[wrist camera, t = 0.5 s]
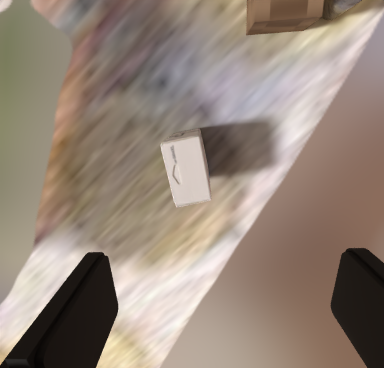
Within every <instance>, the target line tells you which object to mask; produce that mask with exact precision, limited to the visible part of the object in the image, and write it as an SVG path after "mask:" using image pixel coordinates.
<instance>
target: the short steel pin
mask: <svg viewBox="0 0 384 368" xmlns="http://www.w3.org/2000/svg"><path fill="white" fill-rule="evenodd" d="M360 1H362V0H324V4H323V12H322V17H323V18H324V19H325V20H333V19H335V18H336V17H338V16H339V15H341V14H342V13H344V12H345V11H347V10H348V9H350V8H351V7H353V6H354V5H356V4H357V3H359V2H360Z"/></svg>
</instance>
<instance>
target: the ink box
mask: <svg viewBox="0 0 384 368" xmlns="http://www.w3.org/2000/svg"><path fill="white" fill-rule="evenodd" d="M161 151H162V154H163V158H164V162H165V166H166V170H167V175H168V179H169V183H170V187H171V191H172V195H173V200H174V203H175V204H176V207H182V206H187V205H192V204H197V203H202V202H206V201H210V200H211V190H210V175H209V168H208V163H207V159H206V154H205V149H204V144H203V139H202V135H201V130H200V128H197V129H193V130H188V131H183V132H179V133H174V134H173V135H171V136H170V137H169V138H167V139H166V140H165V141H163V142H162V143H161Z"/></svg>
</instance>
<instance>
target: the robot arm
mask: <svg viewBox="0 0 384 368" xmlns="http://www.w3.org/2000/svg"><path fill="white" fill-rule="evenodd" d="M331 310H332V313H333V315H334V316H335V318H336V319H337V321H338V323H339V324H340V326H341V327H342V329H343V330H344V332H345V333H346V335H347V337H348V338H349V340H350V341H351V343H352V344H353V346H354V347H355V349H356V351H357V352H358V354H359V355H360V357H361V358H362V360H363V361H364V363H365V365H366V366H367V368H384V263H383V262H382V261H381V260H379V259H378V258H377V257H376V256H375V255H373V254H372V253H371V252H370V251H369V250H367V249H365V248H349V249H347V250H346V251H345V252H344V253H342V255H341V260H340V264H339V269H338V273H337V278H336V282H335V287H334V291H333V296H332V300H331ZM117 313H118V301H117V296H116V292H115V287H114V282H113V277H112V272H111V268H110V263H109V258H108V256H105V255H104V253H103V252H89V253H87V254H86V255H85V256H84V257H83V259H82V260H81V261H80V263H79V264H78V265H77V266H76V268H75V269H74V270H73V272H72V273H71V274H70V275H69V277H68V278H67V279H66V281H65V282H64V283H63V284H62V286H61V287H60V288H59V290H58V291H57V292H56V294H55V295H54V296H53V297H52V299H51V300H50V301H49V303H48V304H47V305H46V306H45V308H44V309H43V310H42V312H41V313H40V314H39V315H38V317H37V318H36V319H35V321H34V322H33V323H32V325H31V326H30V327H29V328H28V330H27V331H26V332H25V334H24V335H23V336H22V337H21V339H20V340H19V341H18V343H17V344H16V345H15V346H14V348H13V349H12V350H11V352H10V353H9V354H8V355H7V357H6V358H5V360H4V361H3V362H2V364H1V365H0V368H96V366H97V363H98V361H99V358H100V356H101V353H102V351H103V348H104V346H105V343H106V341H107V338H108V336H109V333H110V331H111V328H112V326H113V323H114V321H115V318H116V316H117Z"/></svg>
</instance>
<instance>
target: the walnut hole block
mask: <svg viewBox="0 0 384 368" xmlns="http://www.w3.org/2000/svg"><path fill="white" fill-rule="evenodd" d="M323 4H324V0H247V32H246V35H255V34H268V33H280V32H292V31H304V30H305V29H306V28H308V27H309V26H310V25H311V24H313V23H314V22H315V21H317V20H318V19H319V18H321V17H322V12H323Z"/></svg>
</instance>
